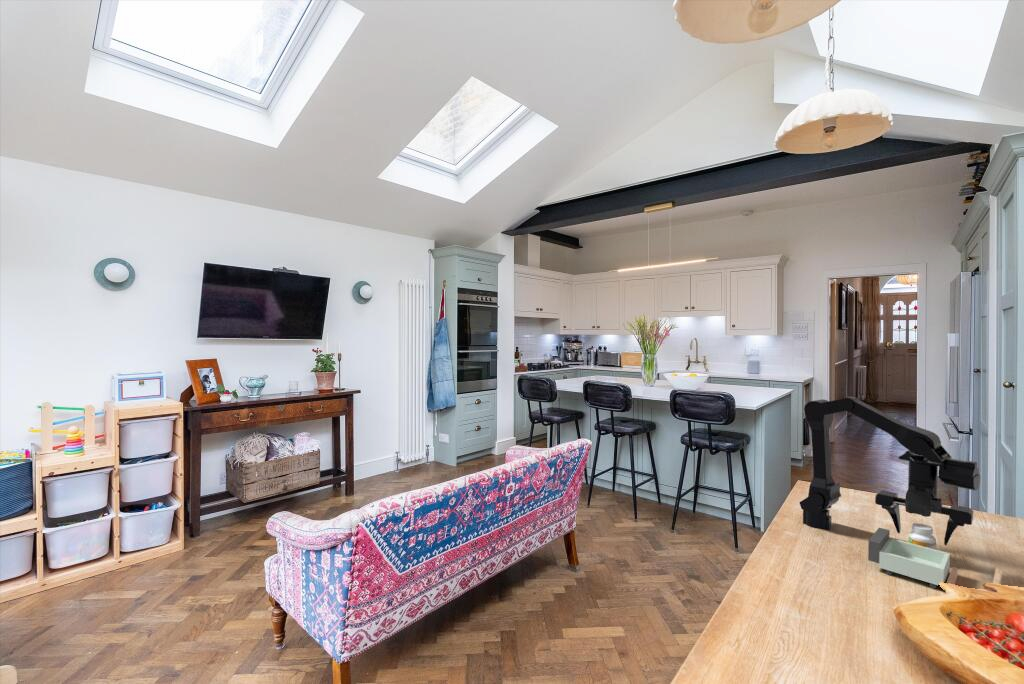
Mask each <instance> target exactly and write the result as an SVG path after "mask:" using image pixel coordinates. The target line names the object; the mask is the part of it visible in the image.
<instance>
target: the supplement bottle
mask: <svg viewBox="0 0 1024 684" xmlns="http://www.w3.org/2000/svg"><path fill="white" fill-rule="evenodd" d="M911 528H912V531H910V532H909V533H908V543H912V544H915V545H919V546H923V547H927V548H931V549H935V550H937V539H936V537H935V536H934V535H933V534H934V531H933V530H934V529H933V527H932V526H930V525H928V524H924V523H919V522H918V523H917V522H915V523H912V527H911Z"/></svg>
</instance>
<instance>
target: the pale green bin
mask: <svg viewBox="0 0 1024 684" xmlns="http://www.w3.org/2000/svg"><path fill="white" fill-rule="evenodd" d="M867 543H868V544H867V545H868V547H867V548H868V550H867V551H868V553H867V556H868V557H867V558H868V561H869V562H873V563H877V564H878V567H879V569H883V570H885V574H886V575H888V576H892V574H893V573H896V574H899V575H902V576H906V577H909V578H912V579H916V580H919V581H923V582H926V583H929V588H931V589H932V590H933V589H934V590H935V589H936V588H937V587H938V584H939V583H940V582H945V583H946V582H947V579H948V577H949V574H950V571H951V569H950V568H951V567H950V564H951V553H950V552H945V551H942V550H937V549H936V550H935V549H931V548H927V547H923V546H919V545H915V544H912V543H909V541H907V542H906V541H904V540H901V539H900V540H899V539H896V538H892V537H890V529H887V528H882V527H878V528H877V530H876V531H875V532H874V533H873V534H872V536H870V538H869V539H868V542H867Z"/></svg>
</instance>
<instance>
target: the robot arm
mask: <svg viewBox="0 0 1024 684" xmlns="http://www.w3.org/2000/svg"><path fill="white" fill-rule="evenodd" d="M803 412H804V416H805V420H806V422H807V424H808V426H809V428H810V433H811V451H812V473H813V475H812V478H811V482H810V484H809V489H808V494H807V497H806V498H804V499H802V500H801V501H799V506H800V508H801V510H802V524H803V525H806V526H808V527H809V528H813V529H818V530H825V531H830V530H831V529H832V515H830V509H831V508H832V506H833V505H835V504H837V503H838V501H839V500H840V498H842V494H841V491H840V490H841V483H839V482H835V480H834V479H833V476H832V460H831V459H832V458H831V457H832V456H831V438H830V429H831V426H832V424H833V421H834V418H835V417H834V415H835V414H837V413H842V412H847V413H850V414H852V415H854V416H856V417H857V418H859V419H861V420H862V421H864V422H866V423H868V424H870V425H872V426H874V427H876V428H878V429H879V430H881V431H884V432H885V433H886V434H889V436H891V437H893V438H894V439H895V440H896V441H897V443H899V444H900V445H901V446H903V448H904V449H907V450H906V451H905V452H904V453H903V454H902V455H899V456H898V457H897V458H898V459H899V460H903V461H906V462H907V461H908V476H907V477H908V479H907V480H908V481H907V490H906V493H905V498H904V497H903V498H902V497H899V496H898V493H897V492H893V491H888V490H885V489H881V490H879V491H878V492H877V493H876V494H875V497H874V498H875V501H874V503H875V505H878V506H880V507H881V508H882V509H883V510H886V511H887V512H888V514H889V515H890V517H891V519H892V522H893V524H894V526H895V529H896V533H897V534H899V535H900V534H901V526H902V525H901V513H900V511H901V510H900V506H903V507H905V509H904V510H905V511H906V512H907V513H908V514H911V515H912V514H915V515H919V516H922V517H926V518H927V517H928V518H929V517H931V516H932V513H933V514H940V515H945V516H948V520H947V525H946V528H945V534H944V539H943V543H944V544H943V545H944V546H948V543H949V541H950V539H951V537H952V536H953V533H954V531H955V530H956V529H958V527H964V526H965V525H968V526H969V525H970V526H971V525H972V524H973V520H974V510H973V509H972V508H970V507H967V506H961V505H957V504H951V505H950V507H946V506H943V501H942V498H939V497H938V485H939V484H938V480H940V481H941V482H943V483H944V485H946V486H951V487H955V488H961V489H965V490H971V491H975V492H977V491H978V489H979V487H980V483H981V474H980V471H979V468H978V462H976V461H972V460H961V459H957V458H952V455H950V453H949V452H948V451H947V449H945V448H944V446H943V445H942V441H941V439H940V437H939V435H938V434H937V433H935V432H933V431H931V430H928V429H926V428H922V427H919V426H916V425H912V424H908V423H905V422H902V421H900V420H899V419H897V418H894V417H892V416H891V415H888V414H887V413H885V412H883V411H881V410H879V409H877V408H875V407H873V406H871V405H869V404H868V403H865V402H863V401H862V400H860V399H859V398H857V397H855V396H846V397H842V398H840V399H836V400H827V399H816V400H810V401H808V402H807V403H805V405H804V407H803ZM938 478H939V479H938Z"/></svg>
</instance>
